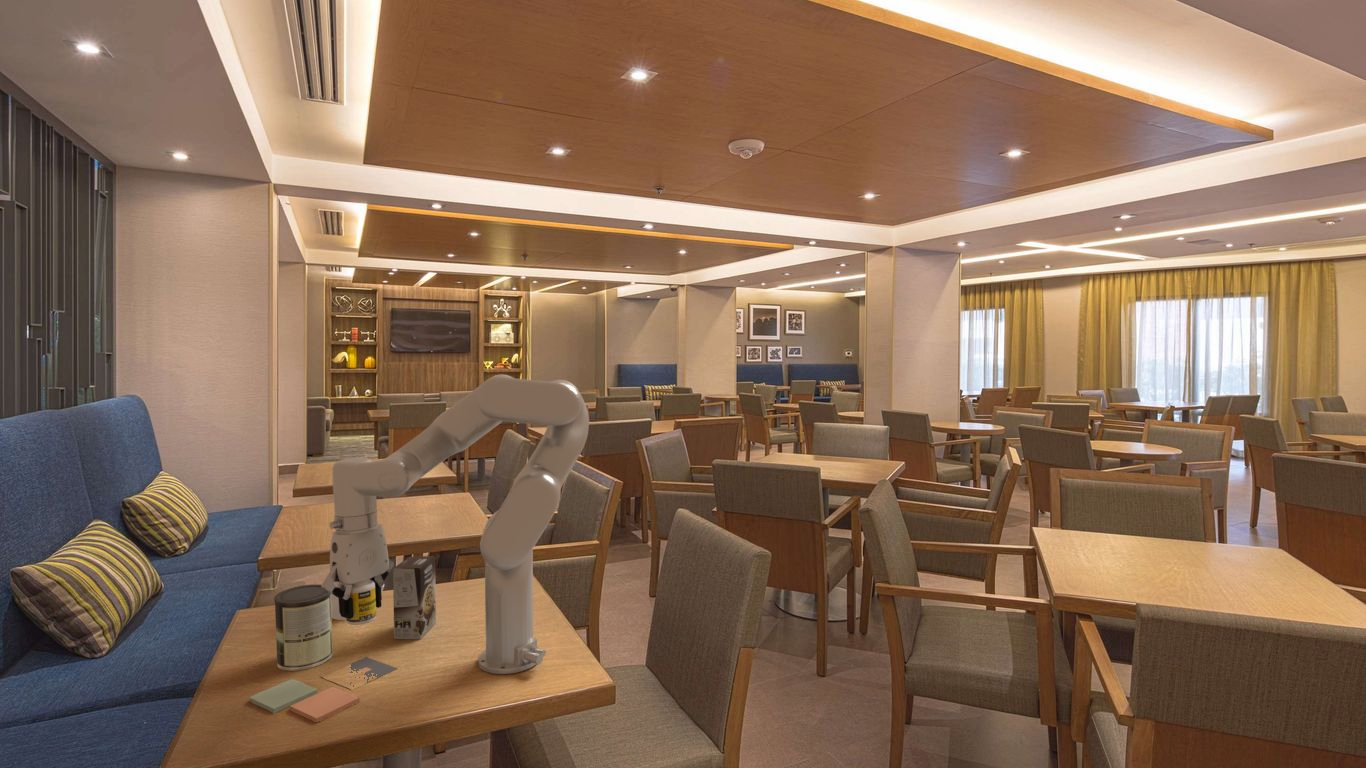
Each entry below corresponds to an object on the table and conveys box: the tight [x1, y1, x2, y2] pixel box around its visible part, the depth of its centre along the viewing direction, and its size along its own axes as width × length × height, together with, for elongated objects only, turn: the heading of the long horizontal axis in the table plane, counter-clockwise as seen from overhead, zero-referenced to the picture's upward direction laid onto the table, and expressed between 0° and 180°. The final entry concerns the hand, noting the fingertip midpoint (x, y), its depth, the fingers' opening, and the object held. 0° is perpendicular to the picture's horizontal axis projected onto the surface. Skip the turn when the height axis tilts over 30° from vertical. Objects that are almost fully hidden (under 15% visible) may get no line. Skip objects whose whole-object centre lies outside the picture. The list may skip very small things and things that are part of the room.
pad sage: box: [248, 678, 318, 714], centre depth 127 cm, size 8×8×1 cm
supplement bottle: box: [345, 579, 377, 626], centre depth 135 cm, size 5×5×10 cm
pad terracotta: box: [289, 686, 360, 723], centre depth 123 cm, size 8×8×1 cm
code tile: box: [350, 656, 399, 687], centre depth 136 cm, size 10×10×1 cm
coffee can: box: [273, 584, 334, 672], centre depth 141 cm, size 10×10×14 cm
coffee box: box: [392, 555, 437, 640], centre depth 155 cm, size 9×6×16 cm
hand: (361, 610), depth 135 cm, fingers closed on supplement bottle, 5 cm apart
